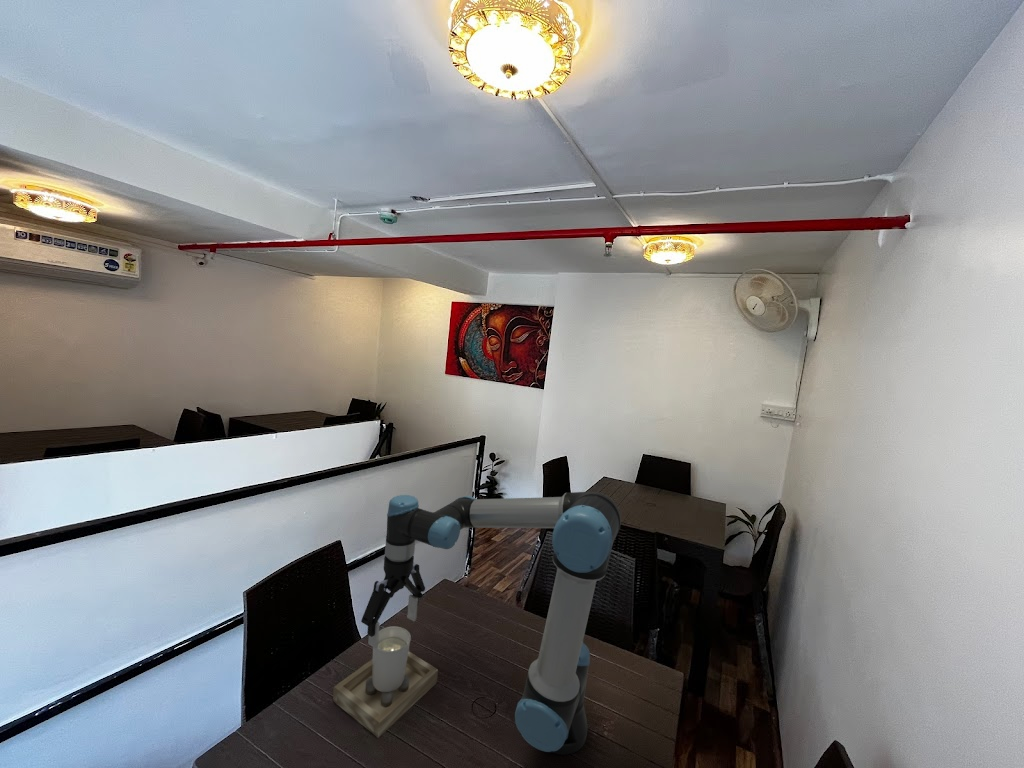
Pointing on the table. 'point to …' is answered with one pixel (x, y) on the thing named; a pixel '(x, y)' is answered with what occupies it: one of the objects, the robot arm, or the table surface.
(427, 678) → the peg frame
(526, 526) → the robot arm
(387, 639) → the candle holder
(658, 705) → the table surface
